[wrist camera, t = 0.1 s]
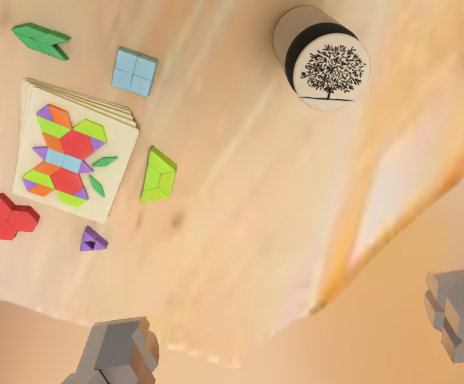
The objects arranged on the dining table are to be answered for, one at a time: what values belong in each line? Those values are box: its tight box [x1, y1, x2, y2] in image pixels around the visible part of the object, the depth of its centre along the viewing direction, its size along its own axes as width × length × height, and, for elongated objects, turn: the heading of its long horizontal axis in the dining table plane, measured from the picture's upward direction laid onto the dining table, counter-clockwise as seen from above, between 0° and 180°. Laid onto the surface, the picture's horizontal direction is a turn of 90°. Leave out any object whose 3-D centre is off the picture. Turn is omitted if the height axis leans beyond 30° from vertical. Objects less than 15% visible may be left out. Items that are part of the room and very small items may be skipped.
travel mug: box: [273, 6, 371, 111], centre depth 45 cm, size 8×8×18 cm
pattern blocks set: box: [0, 23, 177, 251], centre depth 61 cm, size 38×34×3 cm
